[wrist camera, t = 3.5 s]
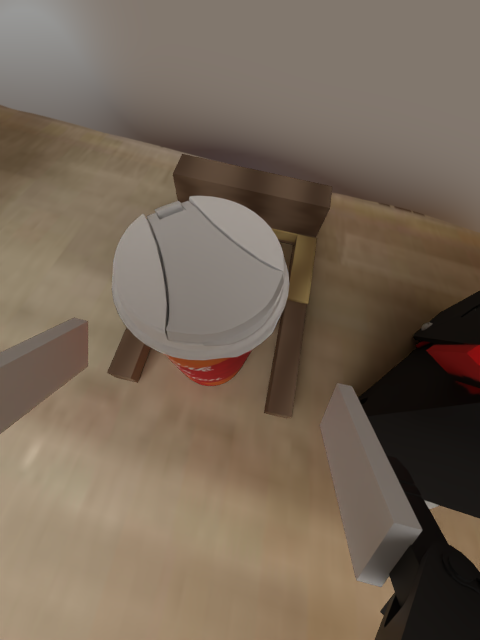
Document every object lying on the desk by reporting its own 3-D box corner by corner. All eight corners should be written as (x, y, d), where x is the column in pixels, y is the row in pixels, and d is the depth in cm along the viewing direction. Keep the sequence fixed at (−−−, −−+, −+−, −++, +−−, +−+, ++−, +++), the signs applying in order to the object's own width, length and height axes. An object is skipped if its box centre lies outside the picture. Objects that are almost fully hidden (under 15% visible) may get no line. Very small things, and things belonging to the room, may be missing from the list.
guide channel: (115, 377, 24) (83, 360, 18) (188, 201, 32) (181, 153, 27) (286, 418, 23) (307, 413, 18) (313, 229, 32) (332, 186, 26)
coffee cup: (152, 338, 25) (71, 224, 11) (227, 301, 27) (235, 166, 14) (193, 419, 23) (151, 397, 9) (272, 371, 25) (337, 292, 11)
